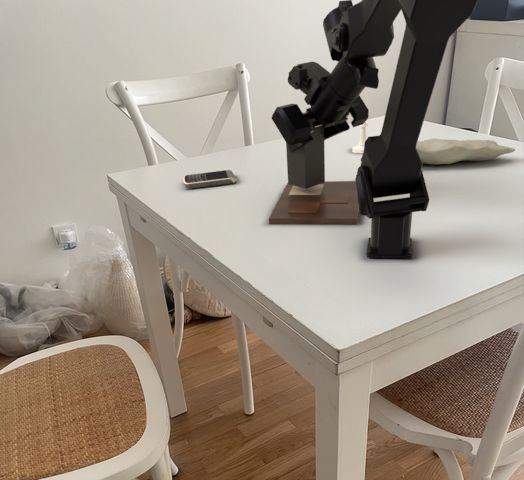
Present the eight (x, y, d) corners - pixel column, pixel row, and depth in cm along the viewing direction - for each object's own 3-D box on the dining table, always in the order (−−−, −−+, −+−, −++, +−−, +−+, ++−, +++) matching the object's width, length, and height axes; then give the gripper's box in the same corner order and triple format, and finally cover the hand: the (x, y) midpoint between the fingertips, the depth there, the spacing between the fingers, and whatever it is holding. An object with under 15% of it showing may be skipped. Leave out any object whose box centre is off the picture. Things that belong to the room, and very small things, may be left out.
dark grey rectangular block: (325, 182, 102) (324, 115, 96) (305, 189, 100) (303, 120, 93) (307, 177, 106) (304, 112, 99) (288, 184, 103) (284, 117, 97)
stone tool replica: (390, 166, 110) (522, 163, 104) (391, 139, 108) (526, 134, 103) (390, 164, 123) (506, 161, 118) (391, 140, 122) (510, 136, 116)
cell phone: (183, 182, 117) (182, 175, 116) (233, 175, 118) (233, 169, 117) (184, 190, 112) (183, 183, 111) (237, 183, 113) (236, 177, 112)
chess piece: (350, 153, 126) (351, 107, 120) (353, 147, 130) (354, 102, 124) (371, 153, 124) (373, 106, 119) (374, 147, 128) (376, 102, 123)
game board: (356, 224, 90) (356, 218, 89) (269, 224, 93) (268, 218, 93) (363, 186, 106) (363, 180, 105) (288, 186, 109) (287, 181, 109)
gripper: (358, 37, 92) (314, 101, 105) (275, 51, 83) (239, 120, 96) (392, 91, 91) (343, 149, 104) (312, 111, 82) (270, 172, 95)
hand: (300, 146), depth 100 cm, fingers closed on dark grey rectangular block, 5 cm apart
